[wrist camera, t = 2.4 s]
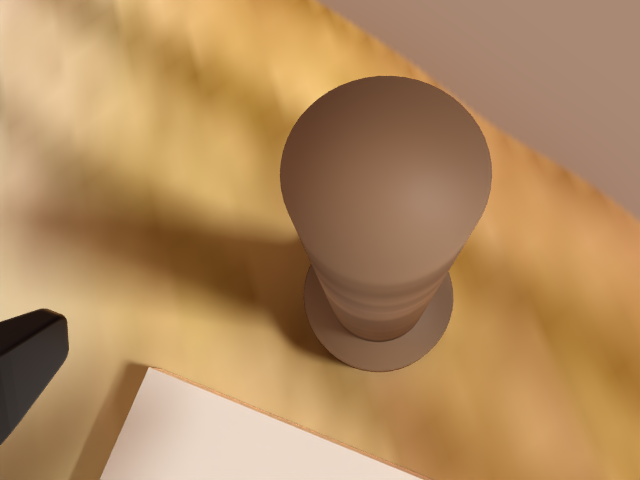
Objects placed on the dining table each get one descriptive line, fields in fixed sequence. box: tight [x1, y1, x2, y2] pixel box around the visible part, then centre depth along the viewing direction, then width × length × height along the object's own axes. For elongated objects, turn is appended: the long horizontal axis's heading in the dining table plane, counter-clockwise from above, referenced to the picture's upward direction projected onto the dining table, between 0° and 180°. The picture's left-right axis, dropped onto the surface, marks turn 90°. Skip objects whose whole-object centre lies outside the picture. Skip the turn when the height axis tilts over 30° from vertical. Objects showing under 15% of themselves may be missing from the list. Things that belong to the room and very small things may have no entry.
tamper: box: [280, 76, 492, 372], centre depth 15 cm, size 5×5×12 cm
